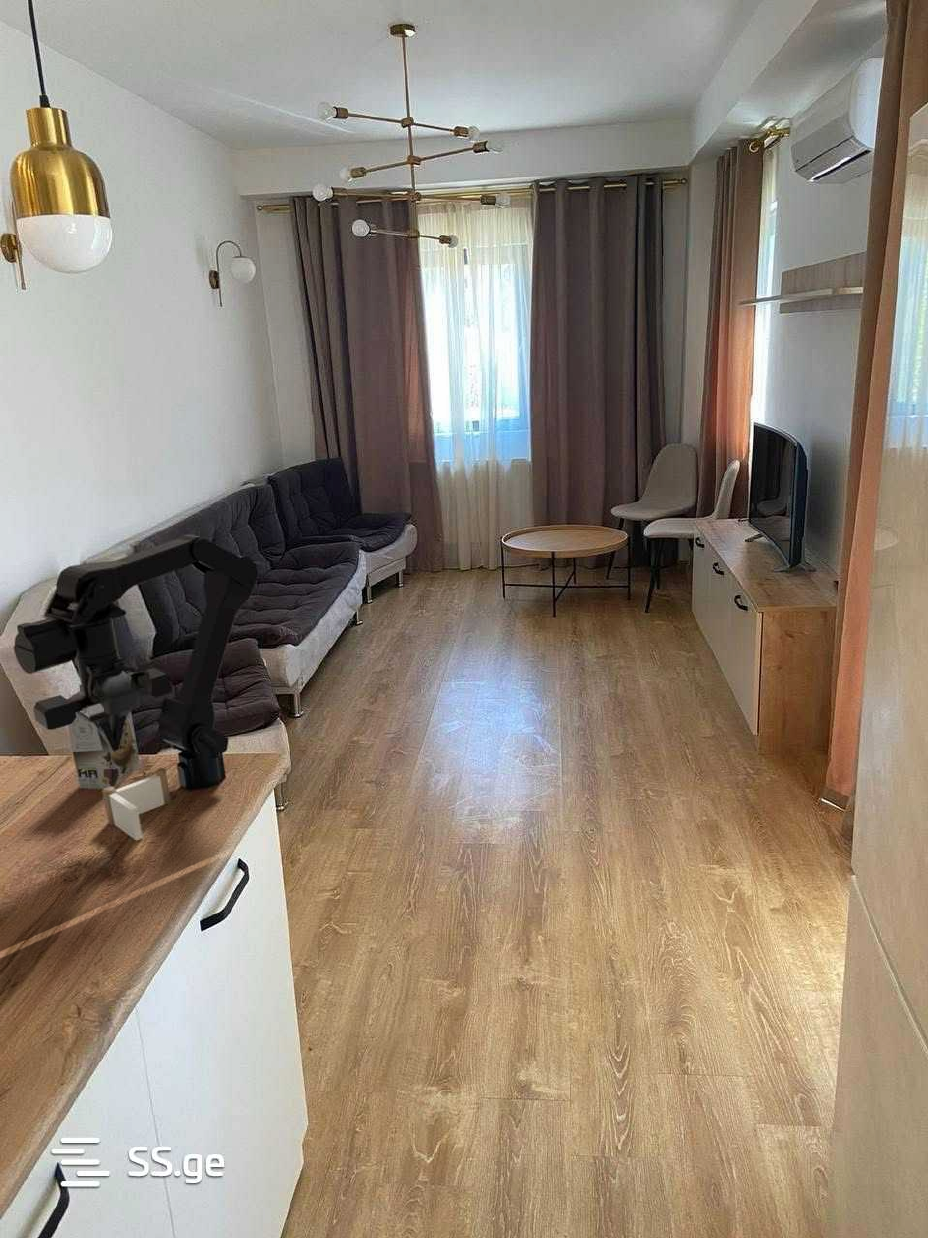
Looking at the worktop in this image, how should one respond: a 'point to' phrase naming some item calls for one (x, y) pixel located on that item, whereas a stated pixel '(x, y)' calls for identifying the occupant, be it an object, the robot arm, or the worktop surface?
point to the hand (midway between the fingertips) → (114, 750)
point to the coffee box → (101, 753)
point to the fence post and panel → (141, 794)
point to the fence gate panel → (126, 816)
